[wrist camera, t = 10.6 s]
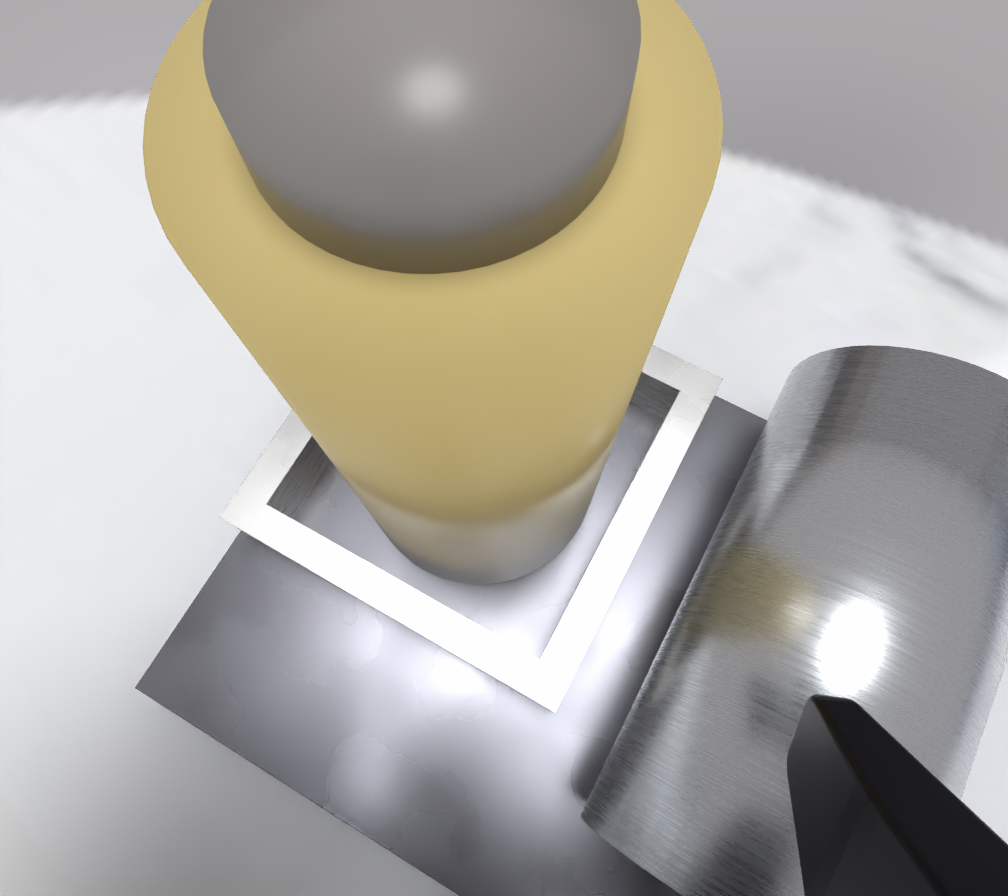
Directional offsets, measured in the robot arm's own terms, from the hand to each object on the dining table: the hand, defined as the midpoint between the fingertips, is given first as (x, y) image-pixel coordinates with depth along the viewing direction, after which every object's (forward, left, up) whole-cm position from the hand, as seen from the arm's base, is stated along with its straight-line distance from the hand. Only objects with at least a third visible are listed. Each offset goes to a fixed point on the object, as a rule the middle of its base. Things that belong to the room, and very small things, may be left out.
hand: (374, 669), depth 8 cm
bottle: (+5, +2, -11) cm, 12 cm away
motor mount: (+3, -2, -13) cm, 13 cm away
